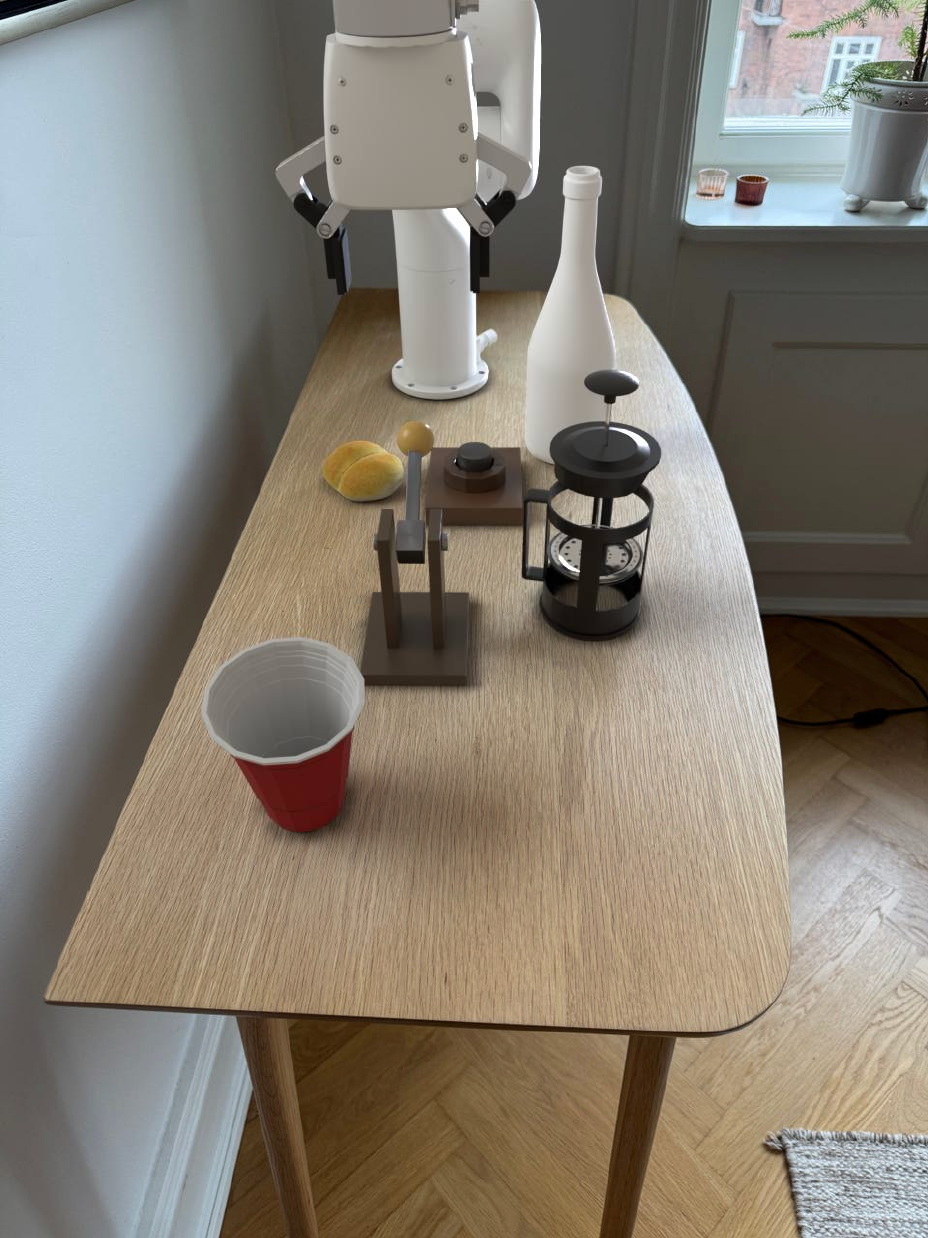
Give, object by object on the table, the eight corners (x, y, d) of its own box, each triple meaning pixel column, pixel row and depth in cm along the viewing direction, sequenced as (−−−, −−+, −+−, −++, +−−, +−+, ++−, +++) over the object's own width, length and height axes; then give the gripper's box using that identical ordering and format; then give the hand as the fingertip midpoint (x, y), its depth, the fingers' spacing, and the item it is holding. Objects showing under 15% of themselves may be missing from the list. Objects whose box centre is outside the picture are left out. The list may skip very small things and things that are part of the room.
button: (458, 455, 98) (457, 441, 97) (491, 455, 98) (491, 441, 97) (457, 473, 96) (456, 459, 95) (491, 473, 96) (491, 459, 94)
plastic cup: (240, 882, 63) (205, 772, 55) (226, 766, 71) (194, 654, 63) (393, 844, 66) (380, 732, 58) (363, 735, 73) (348, 623, 65)
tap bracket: (373, 601, 86) (361, 486, 77) (469, 602, 86) (467, 486, 77) (360, 685, 78) (345, 566, 69) (466, 685, 77) (464, 566, 69)
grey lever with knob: (399, 434, 81) (396, 412, 78) (435, 434, 80) (433, 412, 78) (392, 566, 75) (388, 547, 72) (431, 566, 75) (429, 548, 72)
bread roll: (360, 513, 97) (357, 481, 94) (313, 479, 102) (309, 448, 99) (421, 484, 101) (419, 453, 98) (373, 453, 106) (370, 422, 103)
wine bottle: (507, 447, 107) (512, 170, 87) (561, 418, 111) (578, 150, 92) (569, 478, 101) (589, 191, 82) (623, 447, 106) (654, 169, 86)
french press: (652, 583, 87) (686, 356, 72) (643, 649, 80) (680, 414, 65) (530, 567, 89) (539, 344, 74) (512, 630, 83) (518, 398, 67)
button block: (431, 464, 104) (430, 432, 101) (519, 464, 104) (520, 432, 101) (426, 525, 95) (424, 492, 92) (522, 525, 95) (523, 493, 92)
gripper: (532, -1, 59) (525, 267, 70) (265, 3, 59) (300, 270, 70) (538, 16, 53) (529, 306, 64) (242, 21, 53) (284, 308, 65)
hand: (409, 287), depth 67 cm, fingers open, 9 cm apart
